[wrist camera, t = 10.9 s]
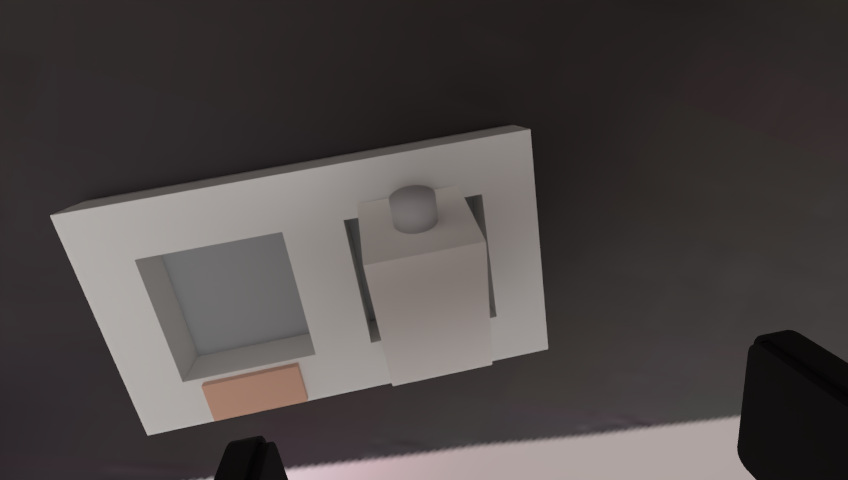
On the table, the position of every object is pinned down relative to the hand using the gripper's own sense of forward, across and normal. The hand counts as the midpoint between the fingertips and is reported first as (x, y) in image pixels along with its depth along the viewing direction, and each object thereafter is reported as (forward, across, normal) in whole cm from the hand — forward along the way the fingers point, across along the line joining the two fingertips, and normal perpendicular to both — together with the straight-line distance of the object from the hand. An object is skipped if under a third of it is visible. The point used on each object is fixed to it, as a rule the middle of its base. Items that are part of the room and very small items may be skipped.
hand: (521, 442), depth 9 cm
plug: (+10, +1, +4) cm, 11 cm away
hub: (+13, +5, +1) cm, 14 cm away
